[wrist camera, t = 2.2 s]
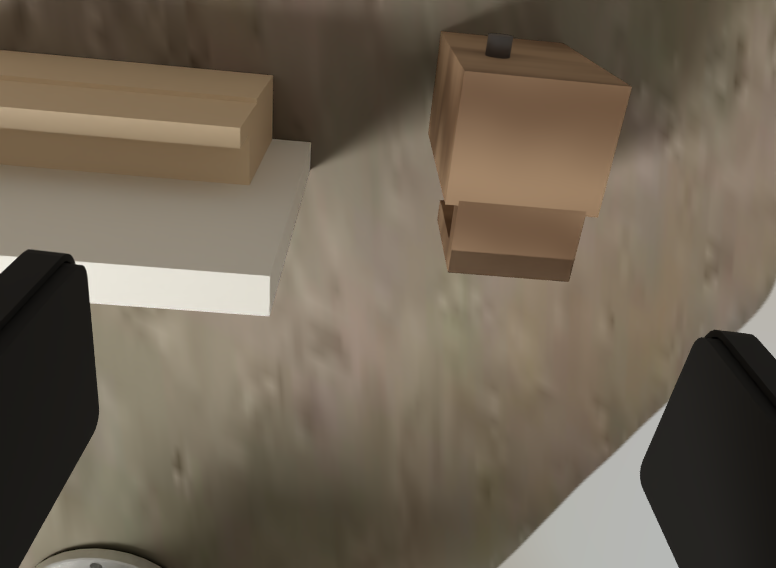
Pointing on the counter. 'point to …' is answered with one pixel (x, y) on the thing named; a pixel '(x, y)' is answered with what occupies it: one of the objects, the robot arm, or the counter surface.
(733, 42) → the counter surface
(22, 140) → the wall board
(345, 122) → the counter surface
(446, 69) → the wall box
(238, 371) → the counter surface
